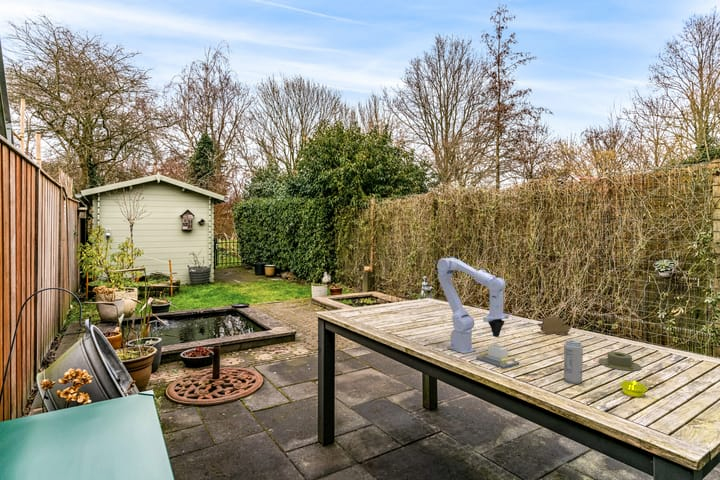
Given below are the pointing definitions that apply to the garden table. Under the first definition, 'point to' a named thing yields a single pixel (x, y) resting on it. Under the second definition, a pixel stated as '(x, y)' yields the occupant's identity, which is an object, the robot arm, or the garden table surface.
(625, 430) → the garden table surface
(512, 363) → the rail base
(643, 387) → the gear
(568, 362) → the energy drink can
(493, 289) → the robot arm
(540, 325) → the wooden carving
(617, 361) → the flange
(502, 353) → the block
